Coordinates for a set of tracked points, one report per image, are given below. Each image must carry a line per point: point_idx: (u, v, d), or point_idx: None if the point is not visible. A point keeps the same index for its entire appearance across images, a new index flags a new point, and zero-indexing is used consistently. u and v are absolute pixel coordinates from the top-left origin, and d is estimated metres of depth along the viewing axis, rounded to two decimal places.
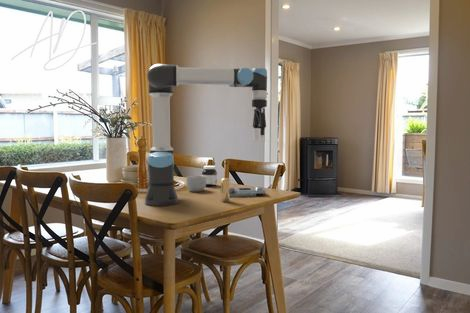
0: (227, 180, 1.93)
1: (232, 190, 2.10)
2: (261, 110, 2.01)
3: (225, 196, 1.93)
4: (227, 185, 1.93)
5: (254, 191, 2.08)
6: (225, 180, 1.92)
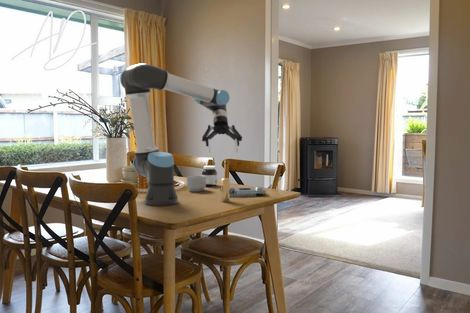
0: (227, 180, 1.93)
1: (232, 190, 2.10)
2: None
3: (225, 196, 1.93)
4: (227, 185, 1.93)
5: (254, 191, 2.08)
6: (225, 180, 1.92)
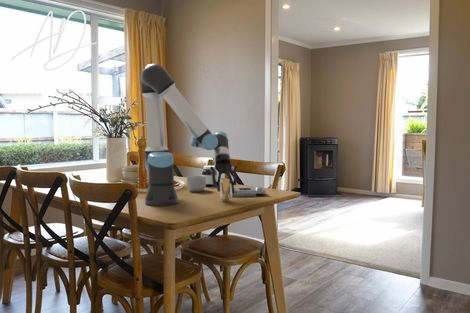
0: (227, 180, 1.93)
1: None
2: (236, 169, 2.02)
3: (225, 196, 1.93)
4: (227, 185, 1.93)
5: (254, 191, 2.08)
6: (225, 180, 1.92)
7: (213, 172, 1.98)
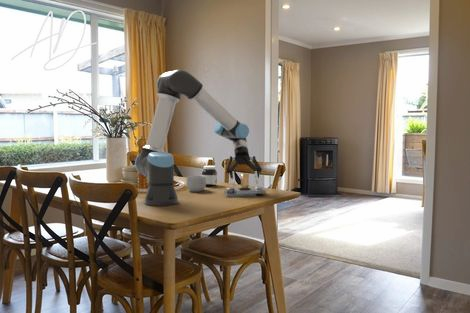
0: (246, 175, 2.10)
1: (232, 190, 2.10)
2: None
3: None
4: (246, 180, 2.10)
5: (254, 191, 2.08)
6: (245, 175, 2.10)
7: (230, 161, 2.16)
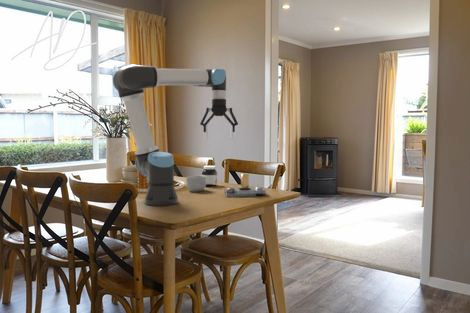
0: (246, 175, 2.10)
1: (232, 190, 2.10)
2: None
3: None
4: (246, 180, 2.10)
5: (254, 191, 2.08)
6: (245, 175, 2.10)
7: (206, 114, 2.18)
